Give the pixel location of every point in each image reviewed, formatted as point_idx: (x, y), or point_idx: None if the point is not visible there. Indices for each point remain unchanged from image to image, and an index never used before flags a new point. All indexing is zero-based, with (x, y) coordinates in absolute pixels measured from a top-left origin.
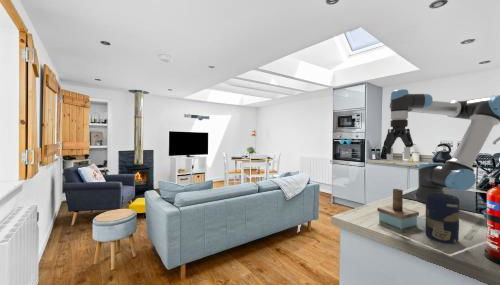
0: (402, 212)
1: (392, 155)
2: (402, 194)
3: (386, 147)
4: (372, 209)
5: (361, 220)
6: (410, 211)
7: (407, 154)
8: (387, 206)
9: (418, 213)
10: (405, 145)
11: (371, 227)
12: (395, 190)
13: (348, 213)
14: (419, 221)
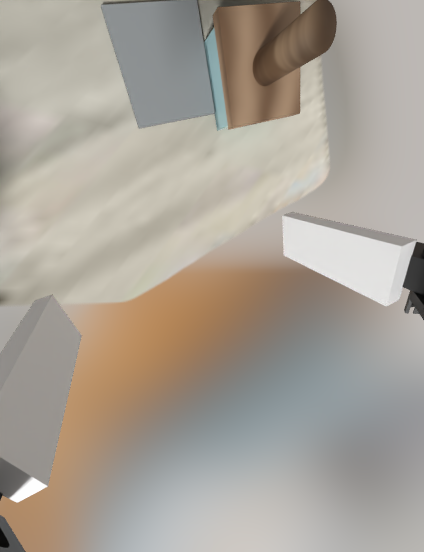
0: (272, 33)
1: (320, 221)
2: (303, 12)
3: (411, 292)
4: (218, 217)
5: (298, 142)
6: (240, 29)
7: (48, 343)
8: (265, 115)
9: (218, 10)
10: (5, 533)
11: (310, 90)
12: (335, 23)
13: (291, 196)
14: (168, 68)
